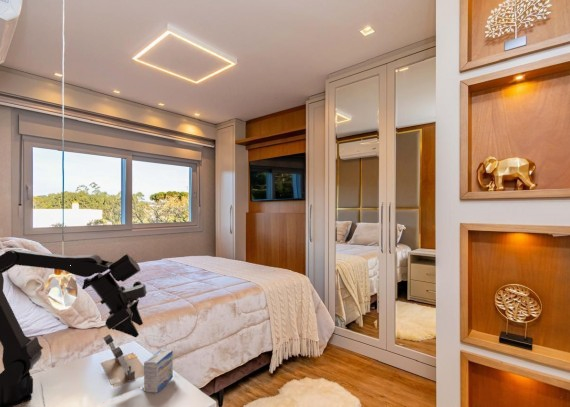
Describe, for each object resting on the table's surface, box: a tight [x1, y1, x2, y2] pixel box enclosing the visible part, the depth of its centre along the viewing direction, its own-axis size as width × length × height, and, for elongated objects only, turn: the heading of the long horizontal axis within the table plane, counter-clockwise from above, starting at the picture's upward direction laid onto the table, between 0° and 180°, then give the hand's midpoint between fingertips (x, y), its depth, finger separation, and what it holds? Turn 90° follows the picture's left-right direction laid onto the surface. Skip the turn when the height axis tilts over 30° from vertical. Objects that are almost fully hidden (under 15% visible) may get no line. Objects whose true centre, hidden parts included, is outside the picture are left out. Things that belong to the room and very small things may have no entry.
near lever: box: [111, 346, 131, 377], centre depth 88 cm, size 2×3×9 cm, turn 44°
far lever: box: [102, 334, 118, 362], centre depth 97 cm, size 2×3×9 cm, turn 43°
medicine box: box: [143, 349, 174, 394], centre depth 87 cm, size 8×4×9 cm, turn 168°
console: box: [100, 352, 144, 388], centre depth 93 cm, size 10×18×4 cm, turn 43°
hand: (139, 330), depth 91 cm, fingers open, 9 cm apart
